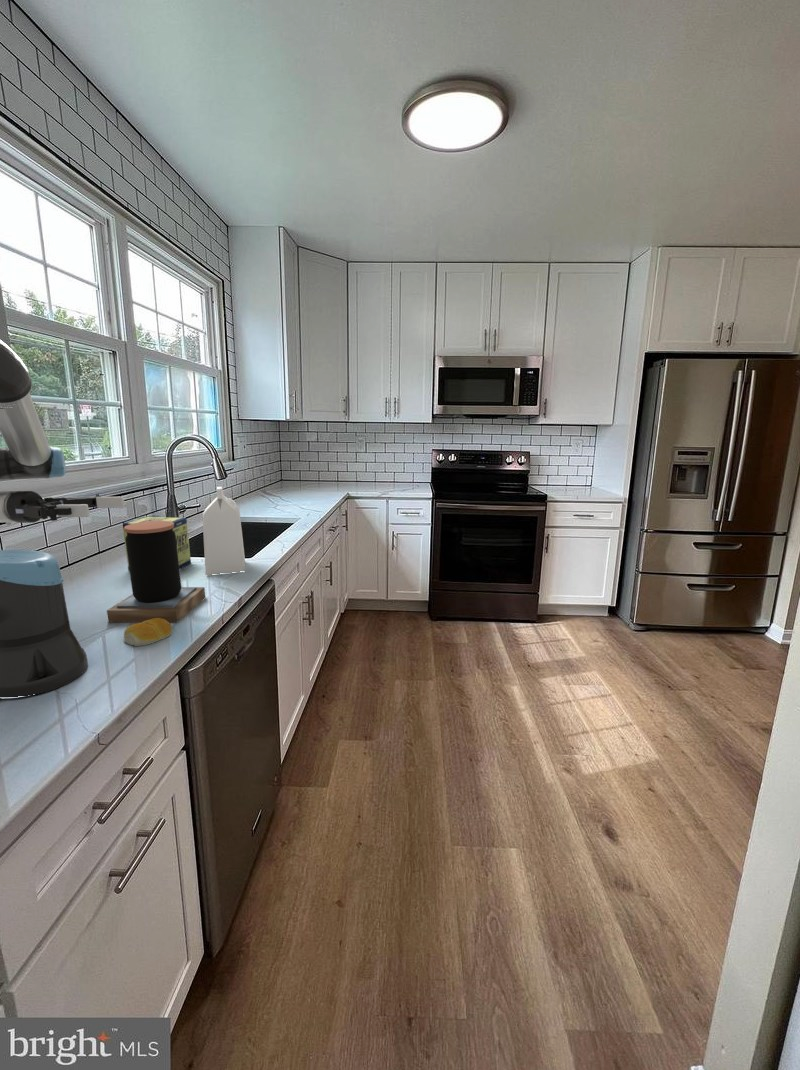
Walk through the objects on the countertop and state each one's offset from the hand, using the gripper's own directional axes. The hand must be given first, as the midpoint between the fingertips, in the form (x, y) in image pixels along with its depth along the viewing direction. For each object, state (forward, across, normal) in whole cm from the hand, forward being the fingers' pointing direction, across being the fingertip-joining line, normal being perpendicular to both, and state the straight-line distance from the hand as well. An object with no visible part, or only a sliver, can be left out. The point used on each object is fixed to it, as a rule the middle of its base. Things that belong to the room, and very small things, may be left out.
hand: (106, 506), depth 110 cm
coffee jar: (+10, 0, -23) cm, 25 cm away
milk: (+14, -34, -26) cm, 45 cm away
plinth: (+10, 0, -26) cm, 28 cm away
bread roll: (+15, +16, -27) cm, 34 cm away
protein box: (-8, -36, -25) cm, 44 cm away
